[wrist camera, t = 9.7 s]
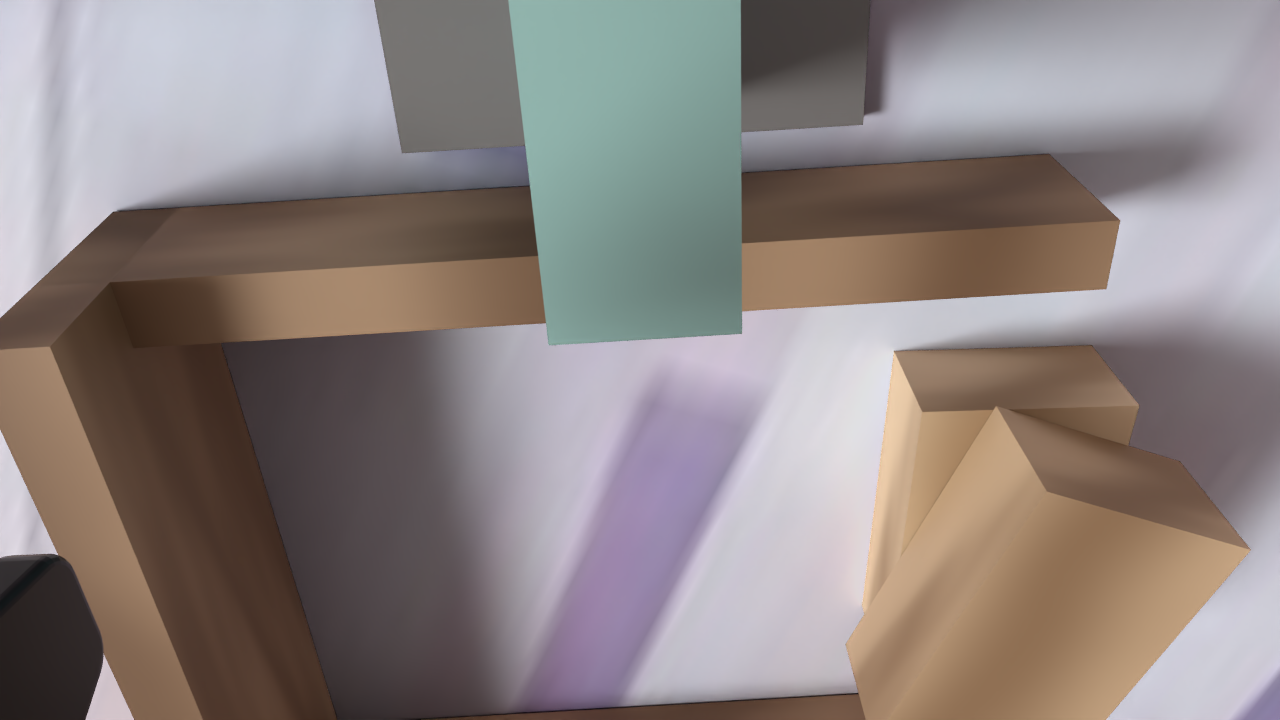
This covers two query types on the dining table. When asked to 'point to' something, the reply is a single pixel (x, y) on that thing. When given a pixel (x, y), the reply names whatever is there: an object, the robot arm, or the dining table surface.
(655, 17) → the teal rectangular block
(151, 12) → the dining table surface
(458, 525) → the dining table surface
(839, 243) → the rack
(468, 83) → the mat
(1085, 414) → the offcut lower
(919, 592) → the offcut upper
